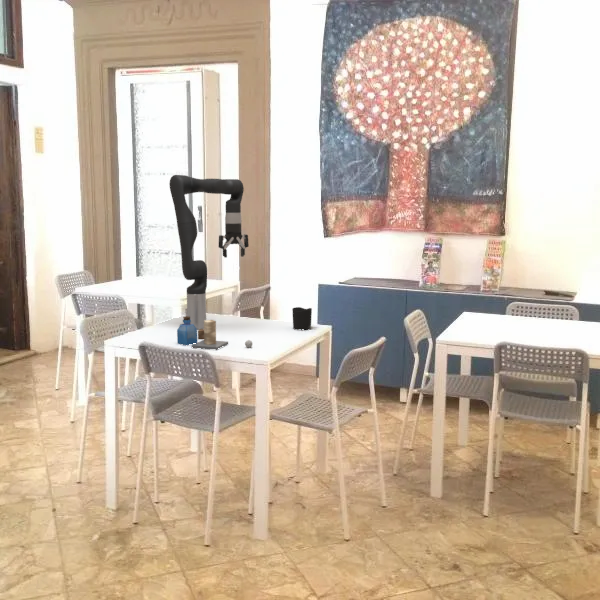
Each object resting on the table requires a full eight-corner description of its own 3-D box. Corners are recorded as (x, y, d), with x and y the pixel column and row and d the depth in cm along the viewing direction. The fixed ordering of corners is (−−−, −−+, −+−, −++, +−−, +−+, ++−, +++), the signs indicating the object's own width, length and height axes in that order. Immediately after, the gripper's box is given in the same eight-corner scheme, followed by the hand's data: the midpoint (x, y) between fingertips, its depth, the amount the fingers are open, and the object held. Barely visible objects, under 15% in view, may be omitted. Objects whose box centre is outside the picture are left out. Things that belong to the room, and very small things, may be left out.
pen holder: (297, 331, 354) (297, 310, 352) (289, 327, 362) (289, 307, 360) (314, 329, 358) (314, 309, 356) (306, 326, 366) (306, 306, 364)
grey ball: (243, 347, 317) (243, 340, 317) (246, 346, 320) (246, 339, 320) (250, 348, 316) (250, 341, 316) (253, 346, 319) (253, 339, 319)
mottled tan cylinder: (207, 344, 318) (207, 322, 316) (204, 343, 321) (203, 320, 320) (216, 343, 320) (215, 321, 318) (212, 342, 323) (212, 319, 322)
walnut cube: (198, 339, 335) (197, 330, 335) (199, 337, 339) (199, 329, 339) (206, 339, 335) (206, 331, 334) (208, 337, 339) (208, 329, 338)
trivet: (191, 348, 317) (191, 345, 317) (203, 342, 328) (203, 339, 328) (216, 350, 313) (216, 347, 313) (228, 344, 325) (228, 341, 324)
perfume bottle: (188, 341, 331) (187, 315, 329) (197, 343, 327) (196, 316, 325) (177, 343, 326) (176, 317, 324) (186, 345, 322) (185, 318, 320)
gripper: (244, 221, 350) (244, 255, 352) (216, 222, 344) (216, 256, 346) (250, 222, 343) (250, 257, 346) (221, 223, 337) (222, 258, 339)
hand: (233, 256), depth 346 cm, fingers open, 8 cm apart
